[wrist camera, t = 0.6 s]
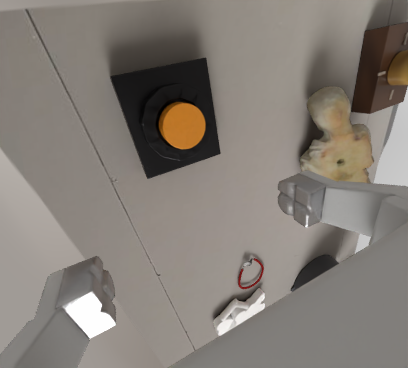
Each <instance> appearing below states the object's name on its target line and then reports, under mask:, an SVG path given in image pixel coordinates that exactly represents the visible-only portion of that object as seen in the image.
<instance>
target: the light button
mask: <svg viewBox="0 0 408 368" xmlns="http://www.w3.org/2000/svg"><path fill="white" fill-rule="evenodd" d="M205 125H206V124H205V119H204V116H203V114H202V112H201V111H200V110H199V109H198V108H197V107H196V106H194V105H192V104H189V103H184V102H174V103H171V104H169V105H168V106H167V107H165V108H164V110H163V111H162V113H161V115H160V118H159V130H160V133H161V135H162V136H163V138H164V139H165V140H166V141H167V142H169V143H170V144H171V145H172V146H174V147H176V148H179V149H189V148H192V147H194V146H195V145H197V144H198V143H199V142H200V141H201V139H202V137H203V135H204V133H205Z"/></svg>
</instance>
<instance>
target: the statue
mask: <svg viewBox="0 0 408 368" xmlns="http://www.w3.org/2000/svg"><path fill="white" fill-rule="evenodd" d="M307 108H308V111H309V112H310V114H311V116H312V119H313V121H314V123H315V124H316V125H317V128H318V129H319V130H321V131H323V132H324V136H323V137H322V138H321V139H319V140H313V141H312V144H311V146H310V147H309V149H308V150H307V151H306V152H305V153H304V154H303V155H302V157H301V158H300V163H301V165H300V167H301V170H302V171H304V170H309V171H312V172H314V173H317V174H319V175H322V176H324V177H327V178H329V179H332V180H334V181H337V182H338V181H349V182H361V183H371V182H370V180H369V178H368V172H367V169H366V168H369V167H370V166H371V165H372V164H373V163H374V159H373V156H372V145H371V135H370V132H369V129H368V128H367V127H366V126H365V125H364V124H354V125H351V122H350V119H349V116H350V111H351V105H350V102H349V100H348V97H347V95H346V93H345V92H344V91H343V89H341V88H339V87H333V86H328V87H325V88H321V89H320V90H318V91H317V92H315V93H314V94H313V95H312V96H311V97H310V98H309V100H308V101H307Z"/></svg>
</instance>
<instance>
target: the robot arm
mask: <svg viewBox="0 0 408 368" xmlns="http://www.w3.org/2000/svg"><path fill="white" fill-rule="evenodd" d="M278 190H279V191H280V194H279V196H278V204H279V206H280V209H281V210H282V211H283V212H284V213H286V214H287V215H291V216H294V220H296V221H297V222H298V223H300V224H301V225H303V226H304V227H306V228H307V227H309V226H311V225H313V224H316V223H318V222H320V221H321V222H323V223H327V224H330V225H333V226H337V227H340V228H343V229H347V230H350V231H353V232H357V233H360V234H363V235H367V236H370V237H371V239H370V242H369V246H367V247H366V248H364V249H362V250H361V251H359V252H357V253H356V254H354V255H352V256H351V257H349V258H347V259H346V260H344V261H343V262H341V263H339V264H338V265H336V266H334V267H333V268H331V269H329V270H328V271H326V272H324V273H323V274H321V275H319V276H318V277H316V278H314V279H313V280H311V281H310V282H308V283H306V284H305V285H303V286H301V287H300V288H298V289H296V290H295V291H293V292H291V293H290V294H288V295H286V296H285V297H283V298H282V299H280V300H278V301H277V302H275V303H273V304H272V305H270V306H268V307H267V308H265V309H263V310H262V311H260V312H259V313H257V314H255V315H254V316H252V317H250V318H249V319H247V320H245V321H244V322H242V323H240V324H239V325H237V326H236V327H234V328H232V329H231V330H229V331H227V332H226V333H224V334H222V335H221V336H219V337H217V338H216V339H214V340H212V341H211V342H209V343H208V344H206V345H204V346H203V347H201V348H199V349H198V350H196V351H194V352H193V353H191V354H189V355H188V356H186V357H185V358H183V359H181V360H180V361H178V362H176V363H175V364H173V365H171V366H170V367H168V368H408V187H406V186H397V185H384V184H373V183H361V182H349V181H338V182H337V181H334V180H332V179H329V178H327V177H324V176H322V175H319V174H317V173H314V172H312V171H309V170H304V171H302V172H300V173H298V174H296V175H294V176H291V177H289V178H287V179H284V180H282V181H279V184H278ZM114 297H115V288H114V284H113V280H112V278H111V275H110V274H109V272H108V271H106V270H103V262H102V261H101V259H100V258H99V257H98V256H95V257H92V258H90V259H87V260H85V261H82V262H79V263H77V264H74V265H72V266H69V267H67V268H64V269H62V270H59V271H57V272H54V273H52V274H50V276H48V278H47V281H46V284H45V287H44V290H43V293H42V296H41V299H40V302H39V305H38V309H37V312H36V315H35V318H34V319H33V320H31V321H29V322H28V323H27V324H26V325H25V326H24V327H23V329H22V330H21V331H20V332H19V333H18V334H17V336H16V337H15V338H14V339H13V340H12V341H11V342H10V344H9V345H8V346H7V347H6V348H5V350H4V351H3V352H2V353H1V354H0V368H77V367H78V365H79V363H80V360H81V358H82V356H83V354H84V352H85V350H86V348H87V346H88V343H89V341H90V340H89V339H90V338H92V337H94V336H96V335H98V334H100V333H101V332H103V331H105V330H107V329H109V328H111V327H113V326H114V325H116V309H115V305H114V304H113V302H112V300H113V298H114Z"/></svg>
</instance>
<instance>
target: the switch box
mask: <svg viewBox="0 0 408 368" xmlns="http://www.w3.org/2000/svg"><path fill="white" fill-rule="evenodd" d="M110 79H111V82H112V85H113V87H114V90H115V93H116V96H117V98H118V101H119V104H120V107H121V109H122V112H123V115H124V118H125V120H126V123H127V126H128V128H129V131H130V134H131V137H132V139H133V142H134V145H135V148H136V150H137V153H138V156H139V158H140V161H141V164H142V167H143V169H144V172H145V174H146V177H147V179H149V178H152V177H155V176H158V175H161V174H164V173H167V172H169V171H172V170H175V169H178V168H181V167H184V166H187V165H190V164H193V163H195V162H198V161H201V160H204V159H207V158H210V157H213V156H216V155H219V154H220V147H219V140H218V134H217V127H216V120H215V114H214V107H213V100H212V94H211V87H210V80H209V74H208V67H207V60H206V58H201V59H196V60H191V61H186V62H181V63H176V64H171V65H166V66H161V67H156V68H151V69H146V70H141V71H136V72H131V73H126V74H120V75H115V76H111V77H110ZM174 102H184V103H189V104H192V105H194V106H196V107H197V108H198V109H199V110H200V111H201V112H202V114H203V116H204V119H205V124H206V125H205V133H204V135H203V137H202V139H201V141H200V142H199V143H198V144H197V145H195V146H194V147H192V148H189V149H179V148H176V147H174V146H172V145H171V144H170V143H169V142H167V141H166V140H165V139H164V138H163V136H162V135H161V133H160V130H159V118H160V115H161V113H162V111H163V110H164V108H165V107H167V106H168V105H169V104H171V103H174Z"/></svg>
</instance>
